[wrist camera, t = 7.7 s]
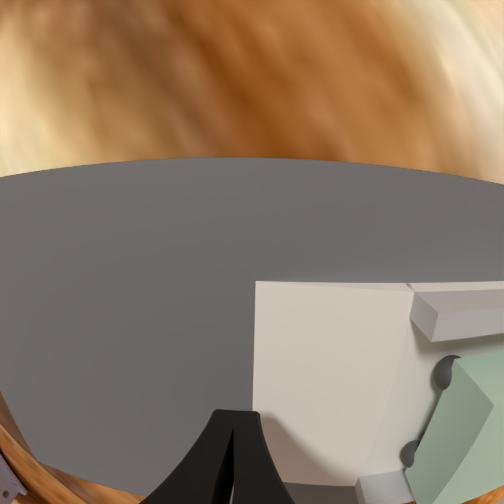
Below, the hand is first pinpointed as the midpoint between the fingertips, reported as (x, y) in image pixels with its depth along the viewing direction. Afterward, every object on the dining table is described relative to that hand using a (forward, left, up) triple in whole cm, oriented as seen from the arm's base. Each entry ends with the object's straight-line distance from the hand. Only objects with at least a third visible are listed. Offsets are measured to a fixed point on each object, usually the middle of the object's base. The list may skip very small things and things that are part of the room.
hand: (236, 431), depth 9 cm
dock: (0, -1, -2) cm, 2 cm away
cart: (0, -9, -1) cm, 9 cm away
